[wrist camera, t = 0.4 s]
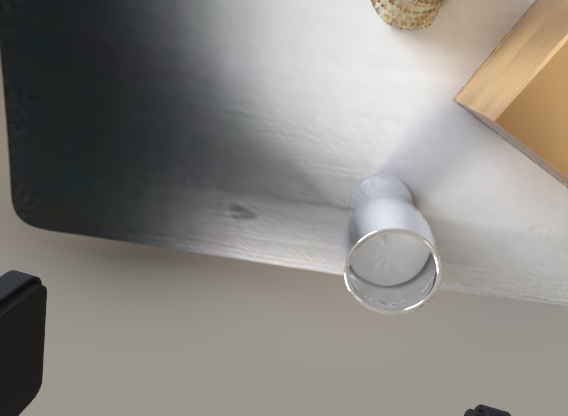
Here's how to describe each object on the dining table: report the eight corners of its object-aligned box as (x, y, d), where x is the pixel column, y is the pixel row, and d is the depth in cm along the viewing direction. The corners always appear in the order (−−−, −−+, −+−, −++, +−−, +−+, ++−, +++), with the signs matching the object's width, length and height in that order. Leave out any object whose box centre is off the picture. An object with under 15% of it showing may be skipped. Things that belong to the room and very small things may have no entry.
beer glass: (331, 211, 47) (321, 282, 33) (372, 155, 44) (381, 205, 30) (388, 249, 47) (402, 335, 33) (432, 196, 45) (468, 263, 31)
